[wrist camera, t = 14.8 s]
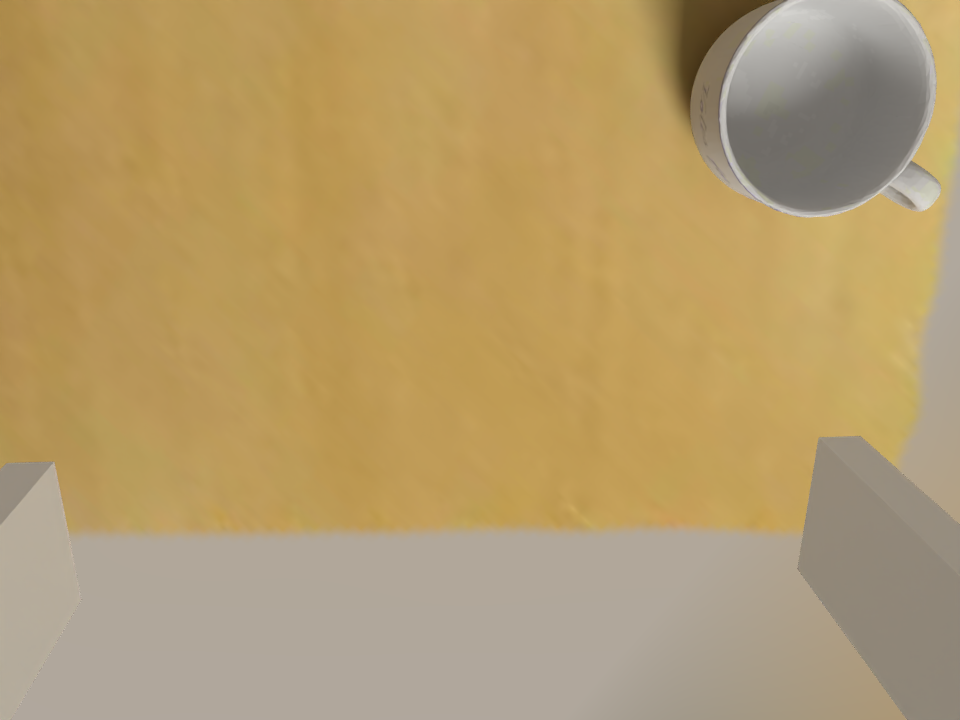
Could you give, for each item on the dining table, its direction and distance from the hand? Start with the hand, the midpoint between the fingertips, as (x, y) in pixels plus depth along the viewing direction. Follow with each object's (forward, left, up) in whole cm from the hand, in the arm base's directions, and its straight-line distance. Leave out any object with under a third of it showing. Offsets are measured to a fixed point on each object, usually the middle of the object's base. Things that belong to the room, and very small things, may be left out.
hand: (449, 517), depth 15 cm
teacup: (+20, +5, -36) cm, 42 cm away
